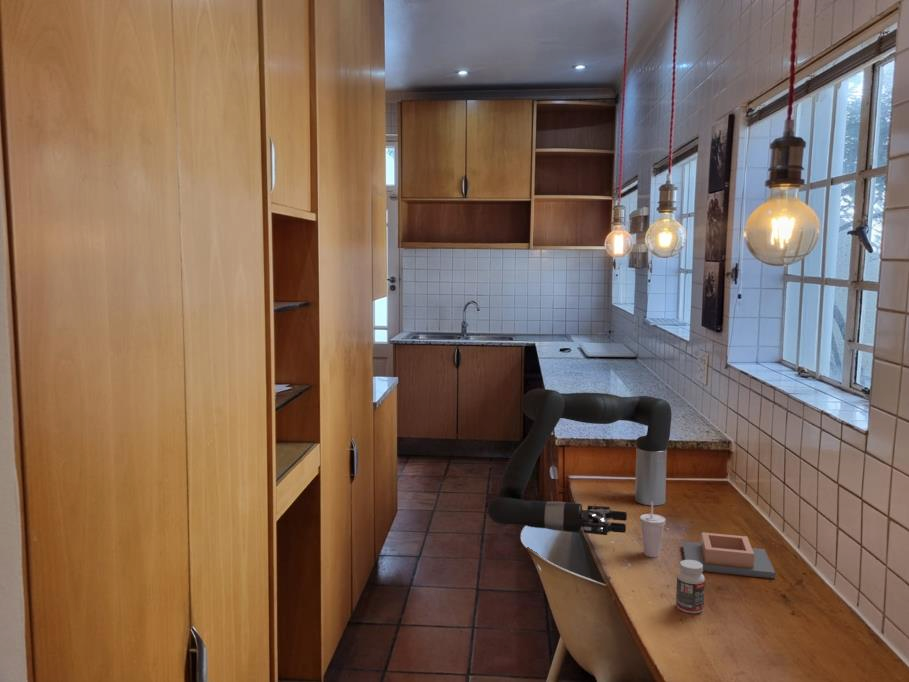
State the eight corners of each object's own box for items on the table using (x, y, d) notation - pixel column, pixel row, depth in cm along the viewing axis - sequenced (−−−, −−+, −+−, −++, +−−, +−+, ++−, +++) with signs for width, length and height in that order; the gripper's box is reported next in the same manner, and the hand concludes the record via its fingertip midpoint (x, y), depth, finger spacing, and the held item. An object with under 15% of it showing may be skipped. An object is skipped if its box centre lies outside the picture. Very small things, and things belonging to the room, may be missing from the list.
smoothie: (634, 554, 175) (635, 502, 173) (646, 547, 179) (647, 495, 178) (657, 561, 170) (659, 507, 169) (669, 553, 175) (670, 501, 174)
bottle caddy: (682, 546, 179) (683, 528, 179) (764, 554, 174) (765, 536, 174) (686, 569, 166) (686, 549, 166) (774, 578, 161) (775, 558, 160)
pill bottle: (700, 617, 143) (702, 572, 142) (673, 610, 146) (674, 565, 145) (706, 605, 148) (707, 562, 147) (679, 599, 151) (681, 556, 150)
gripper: (560, 512, 173) (626, 518, 169) (566, 494, 186) (627, 499, 182) (560, 540, 174) (625, 547, 169) (566, 520, 187) (626, 526, 183)
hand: (626, 522), depth 176 cm, fingers open, 8 cm apart
